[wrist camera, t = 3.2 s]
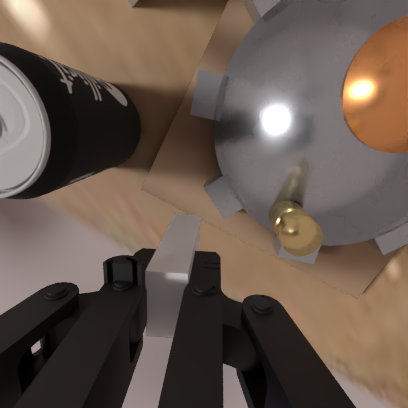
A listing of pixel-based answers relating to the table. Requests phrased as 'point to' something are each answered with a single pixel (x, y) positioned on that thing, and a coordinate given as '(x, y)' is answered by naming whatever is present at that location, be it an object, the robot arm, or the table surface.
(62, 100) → the beverage can
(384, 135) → the sprocket
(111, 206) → the table surface
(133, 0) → the tissue box
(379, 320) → the table surface
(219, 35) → the board
